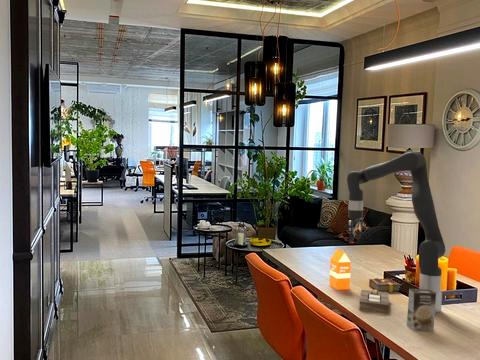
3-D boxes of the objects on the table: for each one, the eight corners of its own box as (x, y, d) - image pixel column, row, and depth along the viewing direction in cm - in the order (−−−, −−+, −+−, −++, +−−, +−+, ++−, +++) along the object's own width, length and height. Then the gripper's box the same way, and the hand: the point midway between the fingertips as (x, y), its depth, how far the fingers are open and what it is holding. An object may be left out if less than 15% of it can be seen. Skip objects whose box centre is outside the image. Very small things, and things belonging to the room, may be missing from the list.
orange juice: (336, 289, 250) (338, 252, 248) (329, 284, 258) (330, 248, 257) (349, 288, 252) (351, 251, 250) (342, 284, 260) (343, 248, 259)
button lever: (372, 298, 233) (372, 289, 233) (376, 298, 233) (376, 290, 233) (372, 304, 224) (372, 295, 224) (376, 304, 224) (376, 295, 223)
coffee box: (412, 331, 195) (414, 293, 194) (406, 325, 202) (408, 288, 201) (434, 331, 196) (436, 293, 194) (427, 325, 202) (429, 288, 201)
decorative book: (368, 286, 258) (369, 277, 258) (396, 286, 260) (397, 277, 260) (377, 293, 247) (377, 283, 246) (406, 292, 249) (407, 283, 248)
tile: (369, 298, 230) (369, 294, 230) (379, 299, 229) (380, 295, 229) (368, 304, 221) (368, 300, 221) (379, 306, 219) (379, 301, 219)
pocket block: (360, 297, 238) (361, 289, 238) (388, 300, 234) (388, 292, 234) (359, 310, 219) (359, 301, 219) (388, 313, 216) (389, 304, 215)
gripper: (357, 210, 241) (356, 242, 241) (367, 208, 252) (366, 238, 253) (343, 209, 245) (342, 240, 246) (354, 207, 256) (353, 237, 257)
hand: (354, 239), depth 249 cm, fingers open, 8 cm apart
